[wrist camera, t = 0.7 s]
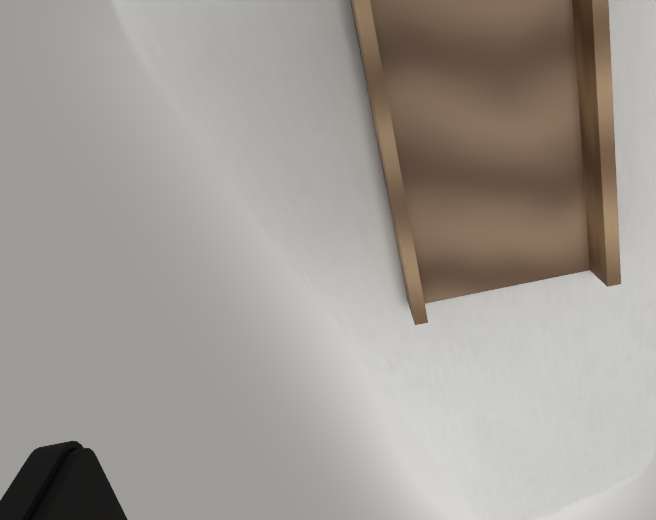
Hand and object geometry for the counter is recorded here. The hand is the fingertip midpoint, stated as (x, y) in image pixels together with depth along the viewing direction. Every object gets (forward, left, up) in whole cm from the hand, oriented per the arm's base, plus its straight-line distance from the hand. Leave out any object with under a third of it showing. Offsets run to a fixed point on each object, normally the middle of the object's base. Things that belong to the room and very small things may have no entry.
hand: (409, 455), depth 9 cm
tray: (-9, +1, -29) cm, 30 cm away
